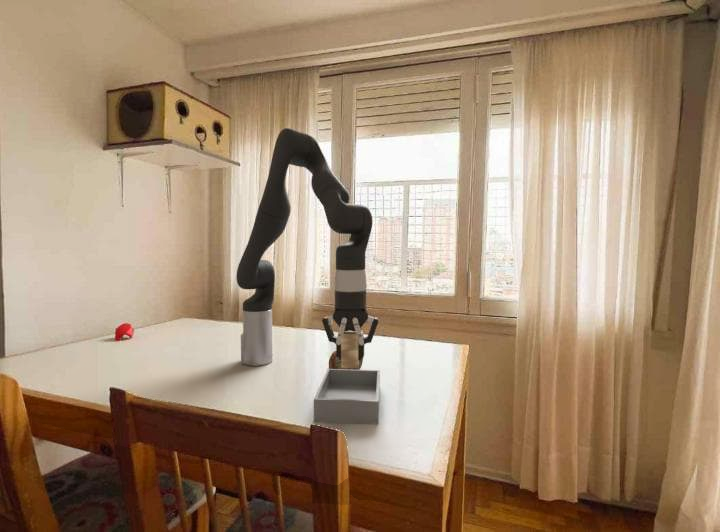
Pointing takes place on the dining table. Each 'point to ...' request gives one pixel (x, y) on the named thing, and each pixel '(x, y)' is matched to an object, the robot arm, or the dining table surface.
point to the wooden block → (349, 349)
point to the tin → (336, 363)
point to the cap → (123, 331)
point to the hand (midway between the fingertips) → (350, 359)
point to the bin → (348, 397)
